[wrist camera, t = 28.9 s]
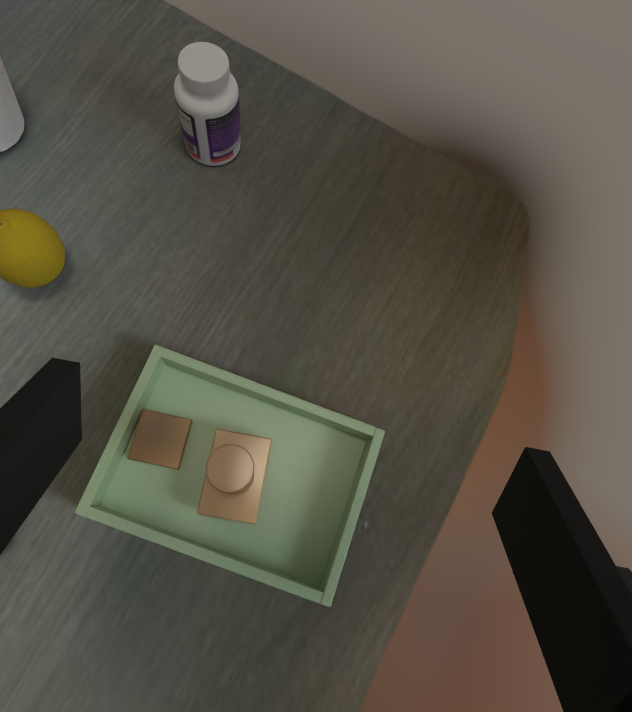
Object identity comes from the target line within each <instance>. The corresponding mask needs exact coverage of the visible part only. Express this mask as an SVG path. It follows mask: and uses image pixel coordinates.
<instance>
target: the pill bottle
mask: <svg viewBox="0 0 632 712" xmlns="http://www.w3.org/2000/svg"><path fill="white" fill-rule="evenodd" d="M178 68H179V74H178V75H177V77H176V79H175V83H174V94H175V100H176V105H177V110H178V115H179V120H180V125H181V129H182V134H183V139H184V143H185V147H186V149H187V151H188V153H189V155H190V156H191V157H192V158H193V159H195V160H196V161H197V162H199V163H202V164H205V165H209V166H218V165H223V164H226V163H228V162H230V161H231V160H232V159H234V158H235V157H236V155H237V154H238V152H239V150H240V146H241V132H240V113H239V92H238V85H237V82H236V80H235V78H234V76H233V75H232V74H231V73H230V70H229V61H228V57H227V55H226V53H225V52H224V51H223V50H222V49H221V48H220V47H218V46H216V45H214V44H212V43H207V42H196V43H192V44H190V45H188V46H186V47H185V48H184V49H183V50H182V51H181V52H180V54H179V56H178Z"/></svg>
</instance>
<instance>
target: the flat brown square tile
mask: <svg viewBox="0 0 632 712" xmlns="http://www.w3.org/2000/svg"><path fill="white" fill-rule="evenodd" d="M191 425H192V420H191V419H187V418H182V417H177V416H173V415H168V414H164V413H159V412H154V411H150V410H145V409H142V411H141V415H140V418H139V421H138V425H137V428H136V431H135V434H134V438H133V441H132V444H131V448H130V451H129V454H128V457H127V458H128V459H130V460H134V461H139V462H144V463H149V464H153V465H158V466H163V467H168V468H173V469H177V470H179V469H180V465H181V461H182V458H183V454H184V450H185V447H186V443H187V439H188V436H189V432H190V428H191Z"/></svg>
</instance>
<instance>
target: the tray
mask: <svg viewBox="0 0 632 712" xmlns="http://www.w3.org/2000/svg"><path fill="white" fill-rule="evenodd" d="M142 409H145V410H150V411H154V412H159V413H164V414H168V415H173V416H177V417H182V418H187V419H191V420H192V425H191V428H190V432H189V436H188V439H187V443H186V447H185V450H184V454H183V458H182V461H181V465H180V469H179V470H177V469H173V468H168V467H163V466H158V465H153V464H149V463H144V462H139V461H134V460H130V459H128V458H127V457H128V454H129V451H130V448H131V444H132V441H133V438H134V434H135V431H136V428H137V425H138V421H139V418H140V415H141V411H142ZM216 429H221V430H226V431H232V432H237V433H243V434H248V435H253V436H259V437H264V438H270V439H272V442H271V447H270V452H269V457H268V463H267V468H266V473H265V478H264V484H263V489H262V494H261V499H260V504H259V510H258V515H257V520H256V524H251V523H245V522H240V521H234V520H228V519H222V518H216V517H211V516H205V515H199V514H197V511H198V506H199V502H200V497H201V493H202V489H203V484H204V480H205V475H206V464H207V461H208V459H209V457H210V453H211V449H212V444H213V440H214V435H215V431H216ZM384 433H385V431H384V430H382V429H379V428H376V427H374V426H371V425H369V424H366V423H363V422H361V421H358V420H355V419H353V418H350V417H347V416H345V415H342V414H339V413H337V412H334V411H331V410H329V409H326V408H323V407H321V406H318V405H315V404H313V403H310V402H307V401H305V400H302V399H299V398H297V397H294V396H291V395H289V394H286V393H283V392H281V391H278V390H275V389H273V388H270V387H267V386H265V385H262V384H259V383H257V382H254V381H251V380H249V379H246V378H243V377H241V376H238V375H235V374H233V373H230V372H227V371H225V370H222V369H219V368H217V367H214V366H211V365H209V364H206V363H203V362H201V361H198V360H195V359H193V358H190V357H187V356H185V355H182V354H179V353H177V352H174V351H171V350H169V349H166V348H164V347H161V346H158V345H156V344H155V345H154V347H153V350H152V352H151V354H150V356H149V358H148V360H147V362H146V364H145V366H144V368H143V370H142V372H141V375H140V377H139V379H138V381H137V383H136V385H135V387H134V389H133V391H132V393H131V395H130V397H129V400H128V402H127V404H126V406H125V408H124V410H123V412H122V414H121V416H120V418H119V420H118V423H117V425H116V427H115V429H114V431H113V433H112V435H111V437H110V439H109V441H108V443H107V445H106V448H105V450H104V452H103V454H102V456H101V458H100V460H99V462H98V464H97V466H96V468H95V471H94V473H93V475H92V477H91V479H90V481H89V483H88V485H87V487H86V489H85V491H84V493H83V496H82V498H81V500H80V502H79V504H78V506H77V508H76V510H75V512H74V513H75V514H78V515H80V516H83V517H86V518H88V519H91V520H94V521H97V522H99V523H102V524H105V525H107V526H110V527H113V528H116V529H118V530H121V531H124V532H126V533H129V534H132V535H134V536H137V537H140V538H143V539H145V540H148V541H151V542H153V543H156V544H159V545H162V546H164V547H167V548H170V549H172V550H175V551H178V552H181V553H183V554H186V555H189V556H191V557H194V558H197V559H200V560H202V561H205V562H208V563H210V564H213V565H216V566H219V567H221V568H224V569H227V570H229V571H232V572H235V573H237V574H240V575H243V576H246V577H248V578H251V579H254V580H256V581H259V582H262V583H265V584H267V585H270V586H273V587H275V588H278V589H281V590H284V591H286V592H289V593H292V594H294V595H297V596H300V597H303V598H305V599H308V600H311V601H313V602H316V603H319V604H322V605H324V606H327V607H330V606H331V603H332V600H333V597H334V594H335V591H336V587H337V584H338V581H339V578H340V574H341V571H342V568H343V565H344V562H345V558H346V555H347V552H348V549H349V546H350V542H351V539H352V536H353V533H354V530H355V526H356V523H357V520H358V517H359V513H360V510H361V507H362V504H363V501H364V497H365V494H366V491H367V488H368V485H369V481H370V478H371V475H372V472H373V469H374V465H375V462H376V459H377V456H378V452H379V449H380V446H381V443H382V440H383V436H384Z"/></svg>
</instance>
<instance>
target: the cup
mask: <svg viewBox="0 0 632 712" xmlns="http://www.w3.org/2000/svg"><path fill="white" fill-rule="evenodd" d="M23 131H24V117H23V115H22V112H21V109H20V107H19V104H18V101H17V99H16V96H15V94H14V91H13V88H12V86H11V83H10V80H9V78H8V75H7V72H6V70H5V67H4V64H3V62H2V59H1V56H0V152H2V151H5V150H7V149H9V148H10V147H11V146H13V145H14V144H15V143H16V142H18V140H19V139H20V137H21V135H22V133H23Z"/></svg>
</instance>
